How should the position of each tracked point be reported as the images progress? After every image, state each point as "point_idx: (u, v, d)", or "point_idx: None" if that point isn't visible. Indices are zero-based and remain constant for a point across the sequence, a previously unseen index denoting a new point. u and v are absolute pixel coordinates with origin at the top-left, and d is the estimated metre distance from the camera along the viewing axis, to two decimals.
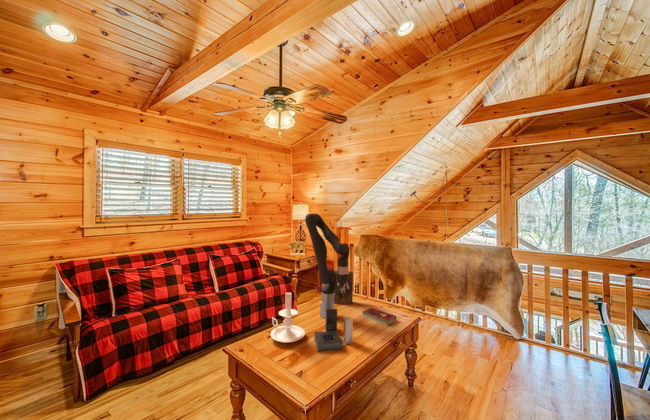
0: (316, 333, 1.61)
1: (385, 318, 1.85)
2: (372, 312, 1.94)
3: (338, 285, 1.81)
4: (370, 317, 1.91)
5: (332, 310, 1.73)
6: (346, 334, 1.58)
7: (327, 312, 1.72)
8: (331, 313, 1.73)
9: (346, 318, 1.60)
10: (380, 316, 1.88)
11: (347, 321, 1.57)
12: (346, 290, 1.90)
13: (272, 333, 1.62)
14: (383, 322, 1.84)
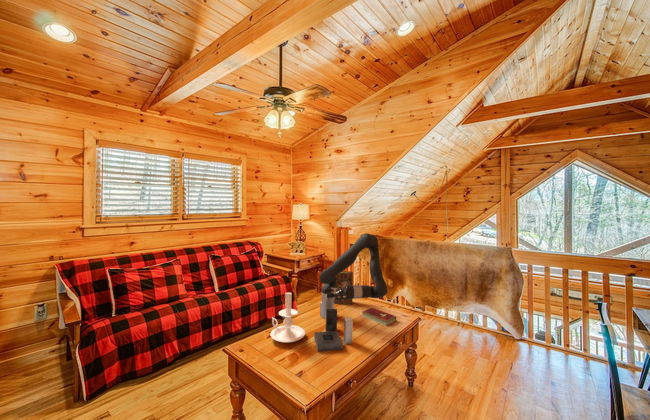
0: (316, 333, 1.61)
1: (385, 318, 1.85)
2: (372, 312, 1.94)
3: (344, 297, 1.51)
4: (370, 317, 1.91)
5: (332, 310, 1.73)
6: (346, 334, 1.58)
7: (327, 312, 1.72)
8: (331, 313, 1.73)
9: (346, 318, 1.60)
10: (380, 316, 1.88)
11: (347, 321, 1.57)
12: (329, 290, 1.60)
13: (272, 333, 1.62)
14: (383, 322, 1.83)
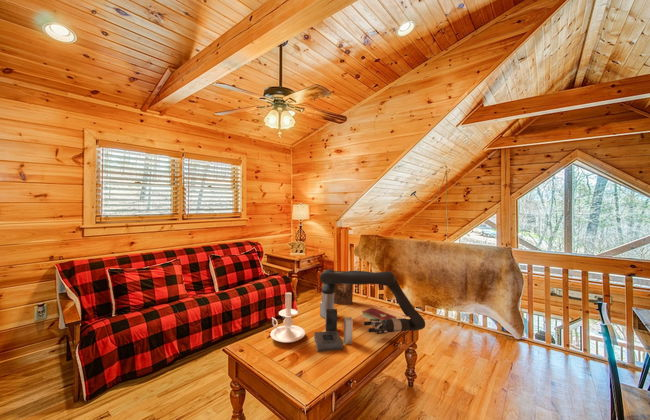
0: (316, 333, 1.61)
1: (384, 318, 1.84)
2: (372, 312, 1.94)
3: (385, 332, 1.56)
4: (370, 317, 1.91)
5: (332, 310, 1.73)
6: (346, 334, 1.58)
7: (327, 312, 1.72)
8: (331, 313, 1.73)
9: (346, 318, 1.60)
10: (379, 316, 1.88)
11: (347, 321, 1.57)
12: (368, 323, 1.66)
13: (272, 333, 1.62)
14: None
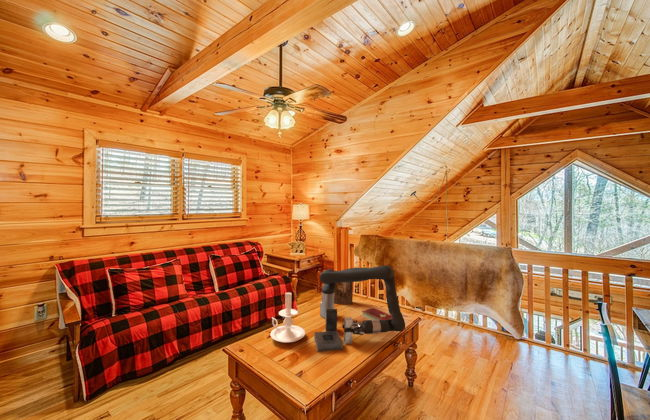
0: (316, 333, 1.61)
1: (383, 319, 1.84)
2: (372, 312, 1.94)
3: (361, 333, 1.54)
4: (369, 317, 1.91)
5: (332, 310, 1.73)
6: (346, 334, 1.58)
7: (327, 312, 1.72)
8: (331, 313, 1.73)
9: (346, 318, 1.60)
10: (379, 316, 1.87)
11: (347, 321, 1.57)
12: None
13: (272, 333, 1.62)
14: None
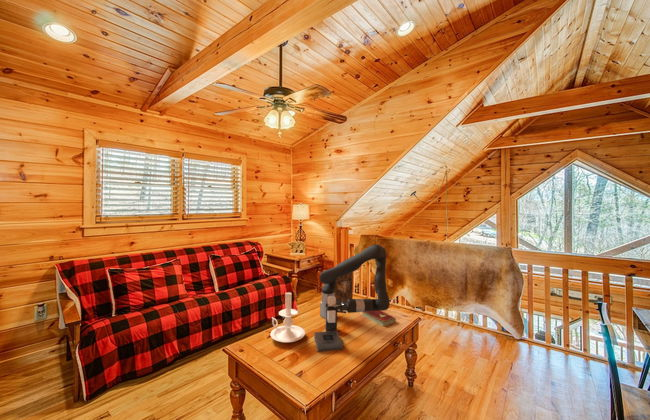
0: (316, 333, 1.61)
1: (383, 319, 1.84)
2: (372, 312, 1.94)
3: (344, 311, 1.52)
4: (369, 317, 1.91)
5: None
6: (329, 313, 1.55)
7: None
8: None
9: (329, 297, 1.57)
10: (378, 316, 1.87)
11: (330, 299, 1.54)
12: None
13: (272, 333, 1.62)
14: (380, 322, 1.83)
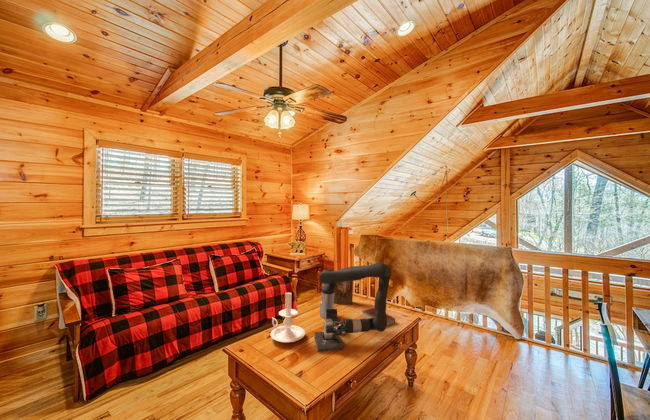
0: (316, 333, 1.61)
1: None
2: (371, 312, 1.94)
3: (343, 332, 1.51)
4: (369, 317, 1.91)
5: (332, 310, 1.73)
6: (326, 336, 1.55)
7: (327, 312, 1.72)
8: (331, 313, 1.73)
9: (326, 320, 1.57)
10: None
11: (327, 323, 1.55)
12: None
13: (272, 333, 1.62)
14: None
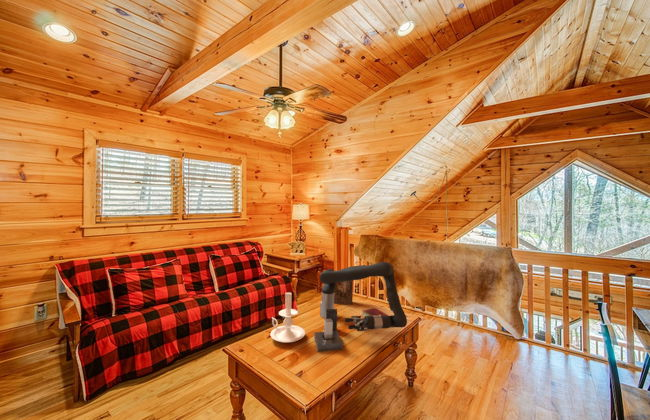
0: (316, 333, 1.61)
1: None
2: (371, 312, 1.94)
3: (365, 329, 1.54)
4: None
5: (332, 310, 1.73)
6: (326, 336, 1.55)
7: (327, 312, 1.72)
8: (331, 313, 1.72)
9: (326, 320, 1.57)
10: None
11: (327, 323, 1.55)
12: (349, 320, 1.63)
13: (272, 333, 1.62)
14: None
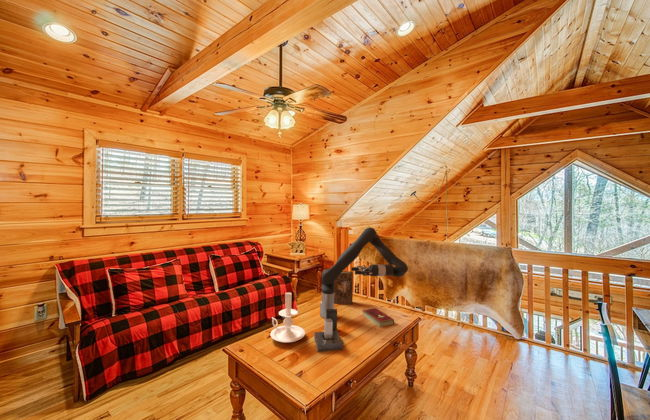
0: (316, 333, 1.61)
1: (380, 319, 1.83)
2: (371, 312, 1.94)
3: (370, 273, 1.70)
4: (368, 317, 1.92)
5: (332, 310, 1.73)
6: (326, 336, 1.55)
7: (327, 312, 1.72)
8: (331, 313, 1.73)
9: (326, 320, 1.57)
10: (376, 317, 1.87)
11: (327, 323, 1.55)
12: (355, 268, 1.79)
13: (272, 333, 1.62)
14: (377, 323, 1.82)
